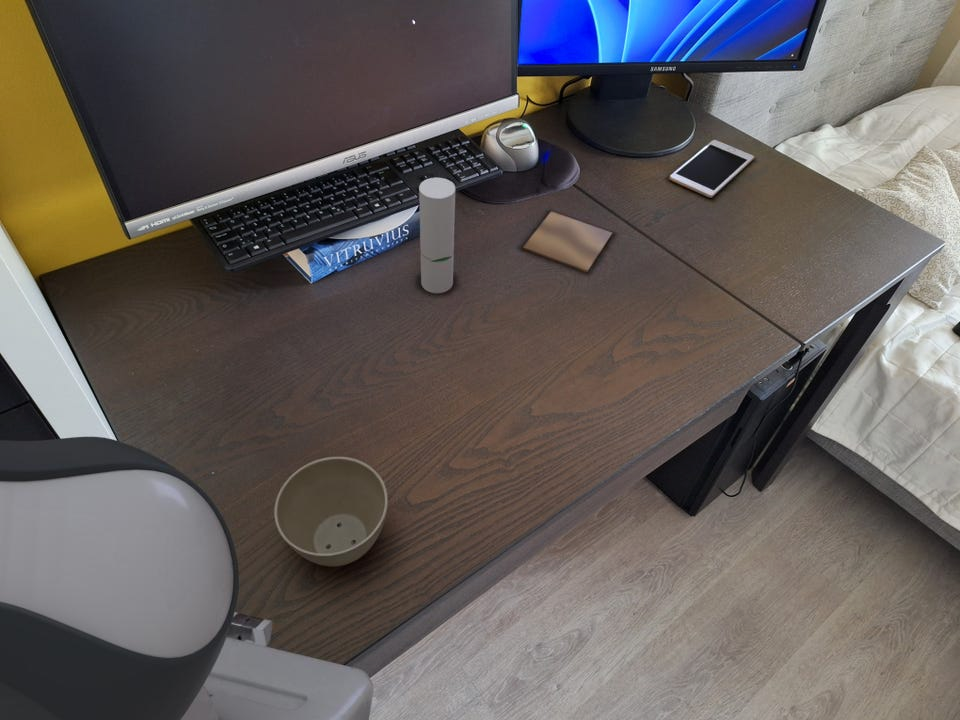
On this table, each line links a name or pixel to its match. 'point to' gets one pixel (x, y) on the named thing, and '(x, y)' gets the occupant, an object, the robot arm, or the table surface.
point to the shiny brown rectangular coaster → (568, 241)
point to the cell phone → (711, 168)
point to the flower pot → (332, 510)
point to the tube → (437, 234)
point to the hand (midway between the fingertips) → (251, 626)
